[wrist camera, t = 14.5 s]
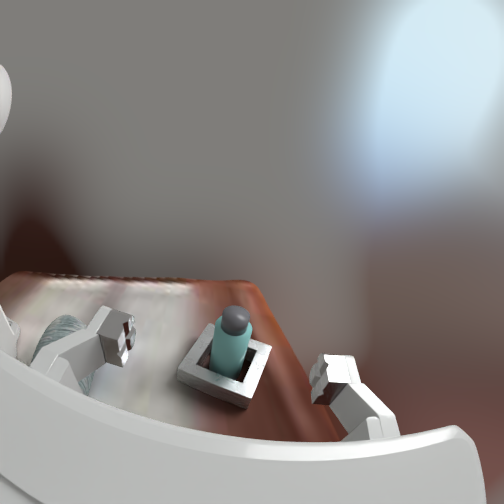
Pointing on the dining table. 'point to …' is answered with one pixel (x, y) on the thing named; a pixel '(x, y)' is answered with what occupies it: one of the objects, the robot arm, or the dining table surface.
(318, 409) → the dining table surface
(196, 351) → the housing
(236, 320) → the bottle
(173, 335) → the dining table surface
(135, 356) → the dining table surface
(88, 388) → the spool
